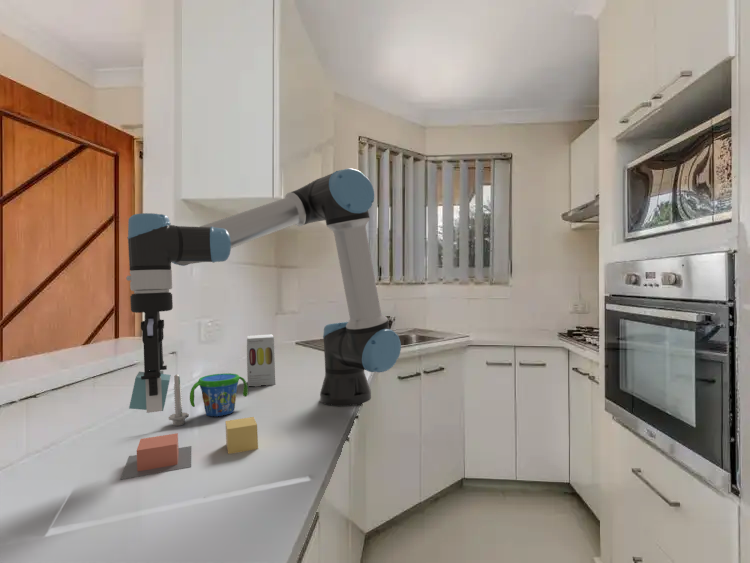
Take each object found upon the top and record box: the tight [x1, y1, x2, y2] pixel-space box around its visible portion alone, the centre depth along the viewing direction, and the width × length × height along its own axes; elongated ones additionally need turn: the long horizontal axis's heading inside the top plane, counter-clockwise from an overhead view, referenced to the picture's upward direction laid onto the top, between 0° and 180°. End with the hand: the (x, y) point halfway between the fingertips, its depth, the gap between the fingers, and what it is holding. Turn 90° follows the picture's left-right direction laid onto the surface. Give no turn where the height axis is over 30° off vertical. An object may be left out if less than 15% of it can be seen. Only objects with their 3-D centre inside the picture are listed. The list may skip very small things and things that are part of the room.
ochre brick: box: [225, 416, 259, 455], centre depth 97 cm, size 6×6×6 cm
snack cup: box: [189, 372, 249, 417], centre depth 124 cm, size 16×10×10 cm
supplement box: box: [246, 333, 276, 388], centre depth 159 cm, size 10×9×17 cm
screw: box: [168, 374, 190, 427], centre depth 116 cm, size 13×5×5 cm
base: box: [120, 432, 192, 481], centre depth 90 cm, size 12×12×5 cm
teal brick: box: [128, 371, 172, 412], centre depth 90 cm, size 6×6×6 cm
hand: (155, 406), depth 90 cm, fingers closed on teal brick, 6 cm apart
